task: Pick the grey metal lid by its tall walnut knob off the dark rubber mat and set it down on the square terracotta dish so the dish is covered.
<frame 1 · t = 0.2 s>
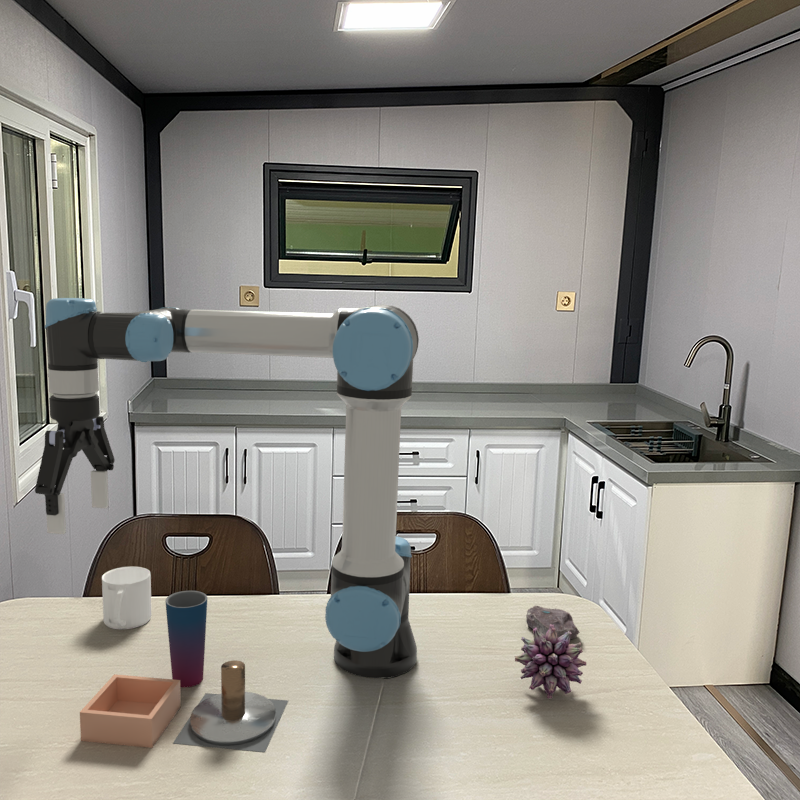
hand: (79, 519, 132), 28 cm above the table, fingers open, 13 cm apart
mat: (233, 723, 124), on the table
lid: (233, 720, 124), resting on mat
flower: (548, 694, 135), on the table
dish: (132, 725, 123), on the table
cup: (187, 682, 136), on the table
mug: (124, 623, 156), on the table
rock: (551, 634, 158), on the table
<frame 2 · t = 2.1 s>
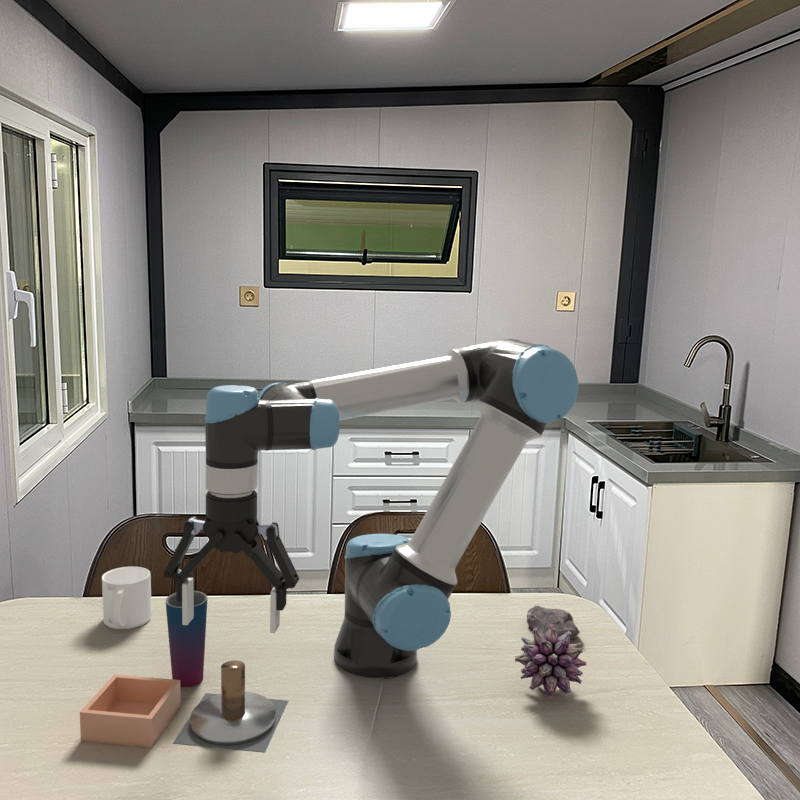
hand: (231, 625, 121), 16 cm above the table, fingers open, 13 cm apart
nothing on the table moved.
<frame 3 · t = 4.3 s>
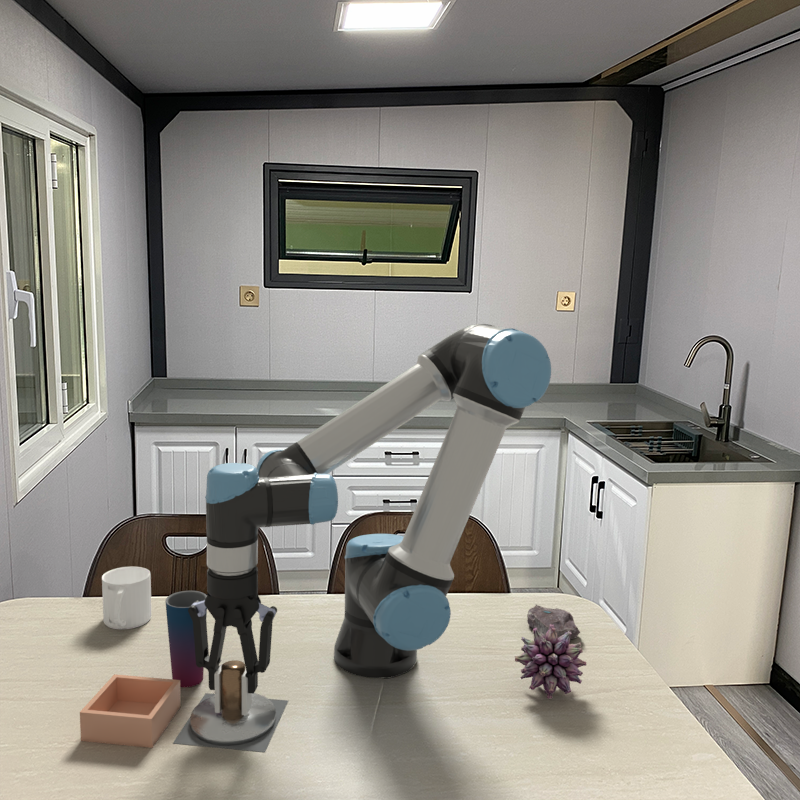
hand: (233, 709, 124), 2 cm above the table, fingers closed on lid, 4 cm apart
lid: (233, 720, 124), resting on mat, touching gripper
everything else where it was.
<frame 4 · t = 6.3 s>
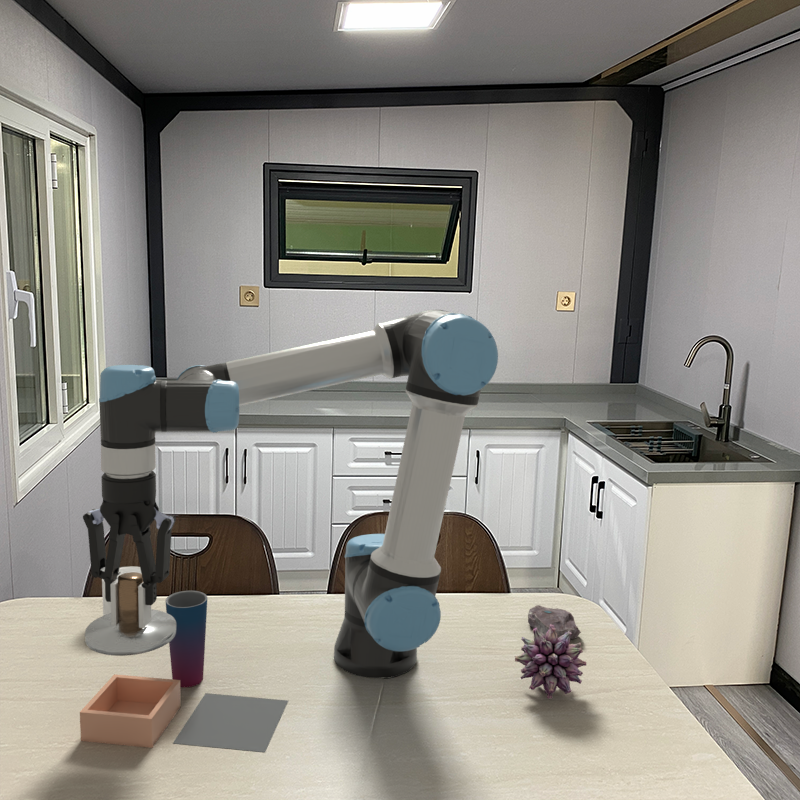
hand: (131, 622, 120), 17 cm above the table, fingers closed on lid, 4 cm apart
lid: (131, 634, 120), point 15 cm above the table, touching gripper
everything else where it was.
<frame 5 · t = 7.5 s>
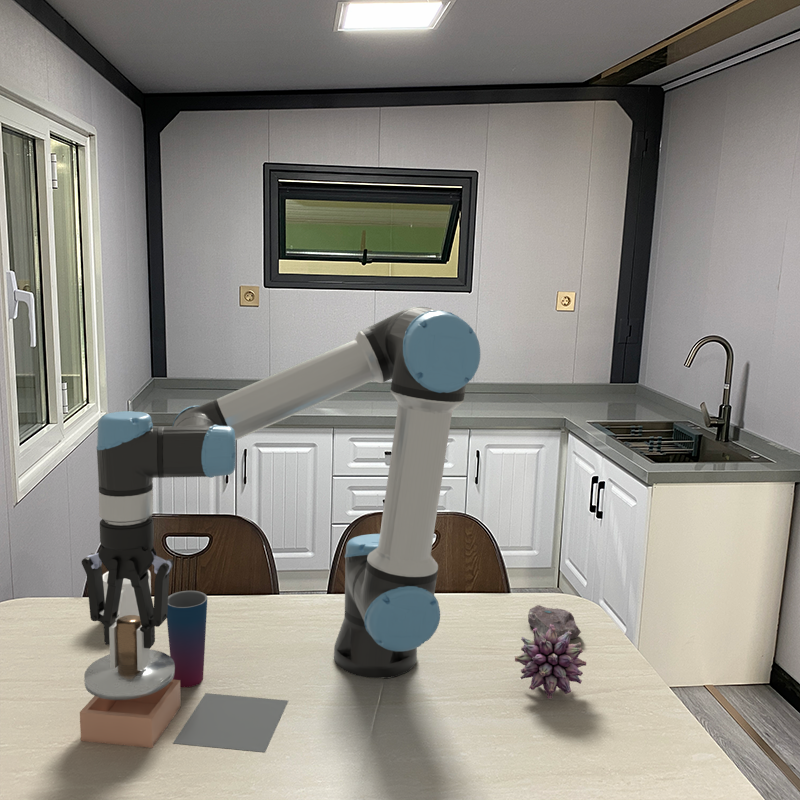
hand: (130, 664, 121), 10 cm above the table, fingers closed on lid, 4 cm apart
lid: (130, 676, 121), point 8 cm above the table, touching gripper
everything else where it was.
when the fingers open (8 cm above the table, at t = 8.4 s): lid drops 2 cm, resting on dish.
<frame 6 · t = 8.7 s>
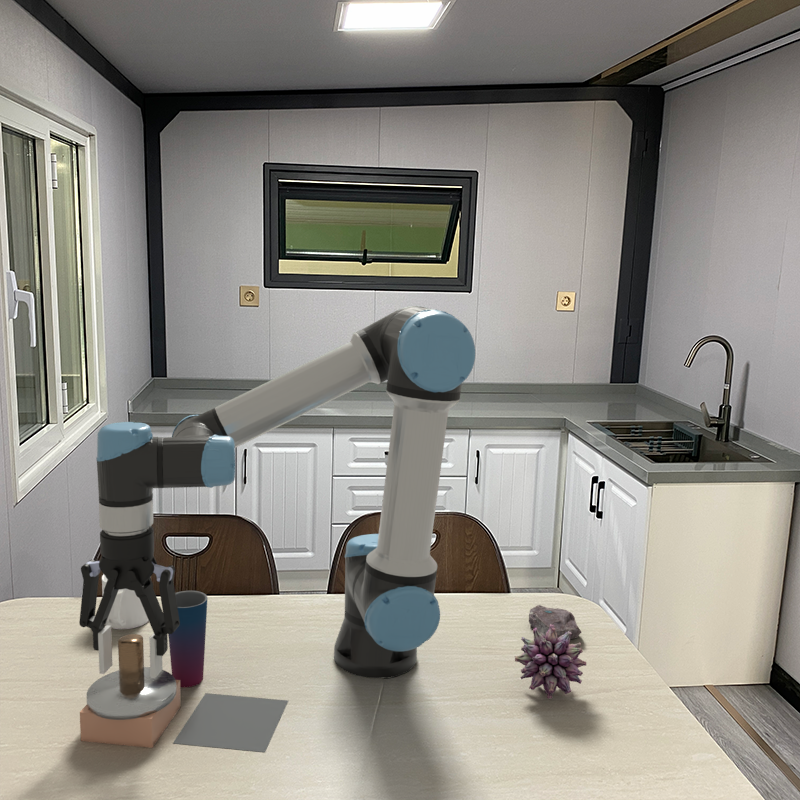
hand: (131, 671, 121), 9 cm above the table, fingers open, 7 cm apart
lid: (132, 695, 122), point 5 cm above the table, touching dish
everything else where it was.
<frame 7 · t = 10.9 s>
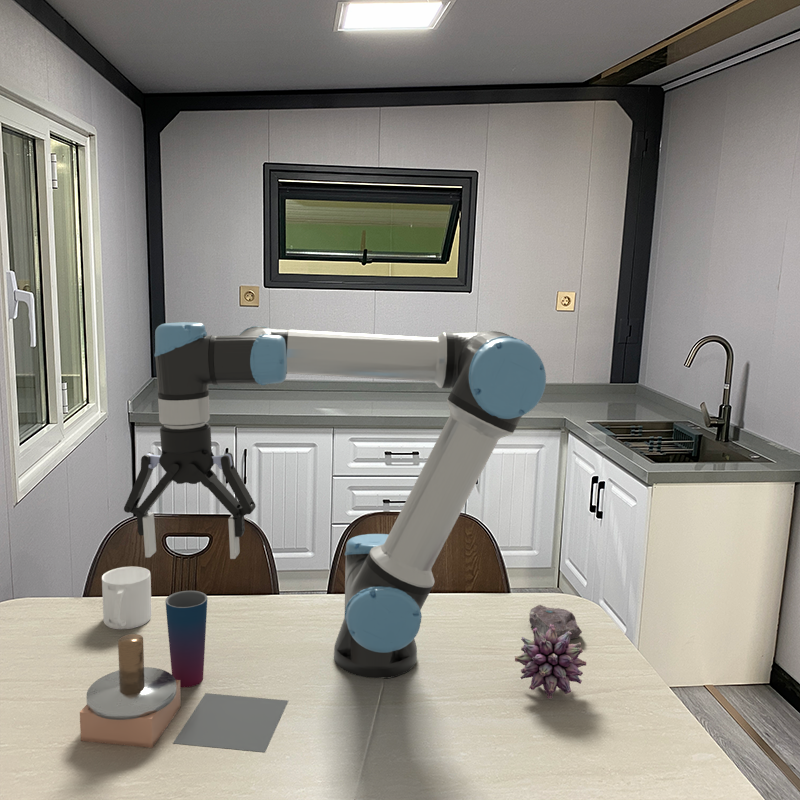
hand: (192, 555, 126), 25 cm above the table, fingers open, 13 cm apart
nothing on the table moved.
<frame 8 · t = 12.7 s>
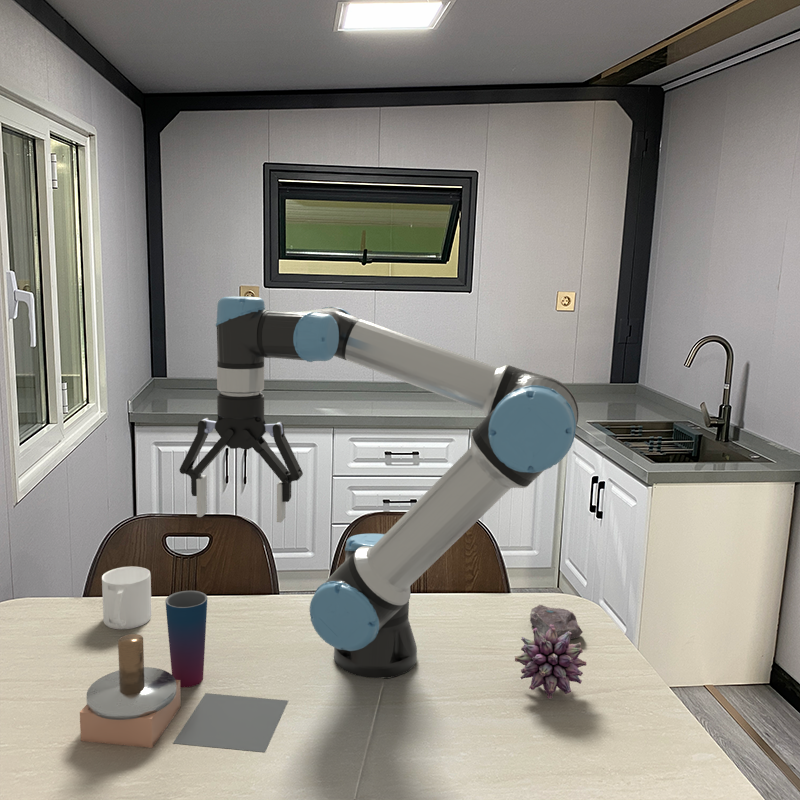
hand: (241, 517, 133), 29 cm above the table, fingers open, 13 cm apart
nothing on the table moved.
at the end: lid 0.1 cm off-centre on the dish, point 5.0 cm above the dish's base; lid tilted 0°; the gripper is holding nothing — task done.
